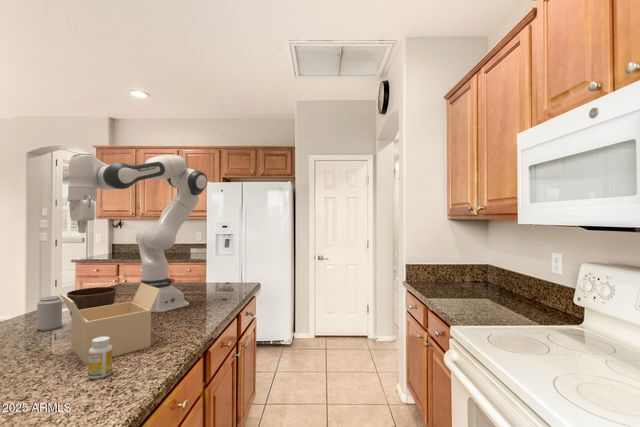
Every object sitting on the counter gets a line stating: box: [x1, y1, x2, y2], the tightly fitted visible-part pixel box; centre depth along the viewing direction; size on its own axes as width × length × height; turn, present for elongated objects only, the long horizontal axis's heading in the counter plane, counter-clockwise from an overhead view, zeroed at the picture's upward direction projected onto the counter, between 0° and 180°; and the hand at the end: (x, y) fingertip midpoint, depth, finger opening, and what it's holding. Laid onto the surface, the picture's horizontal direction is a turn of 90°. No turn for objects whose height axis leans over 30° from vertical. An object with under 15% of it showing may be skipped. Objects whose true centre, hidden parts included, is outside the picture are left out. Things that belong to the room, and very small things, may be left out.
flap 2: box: [132, 282, 161, 310], centre depth 117 cm, size 7×17×1 cm
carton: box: [70, 300, 152, 365], centre depth 109 cm, size 18×18×12 cm
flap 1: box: [59, 292, 85, 322], centre depth 101 cm, size 7×17×1 cm
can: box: [36, 295, 63, 332], centre depth 129 cm, size 8×8×12 cm
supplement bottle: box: [87, 336, 113, 380], centre depth 89 cm, size 5×5×10 cm
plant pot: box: [66, 286, 117, 319], centre depth 121 cm, size 15×15×16 cm
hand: (82, 232), depth 125 cm, fingers closed
